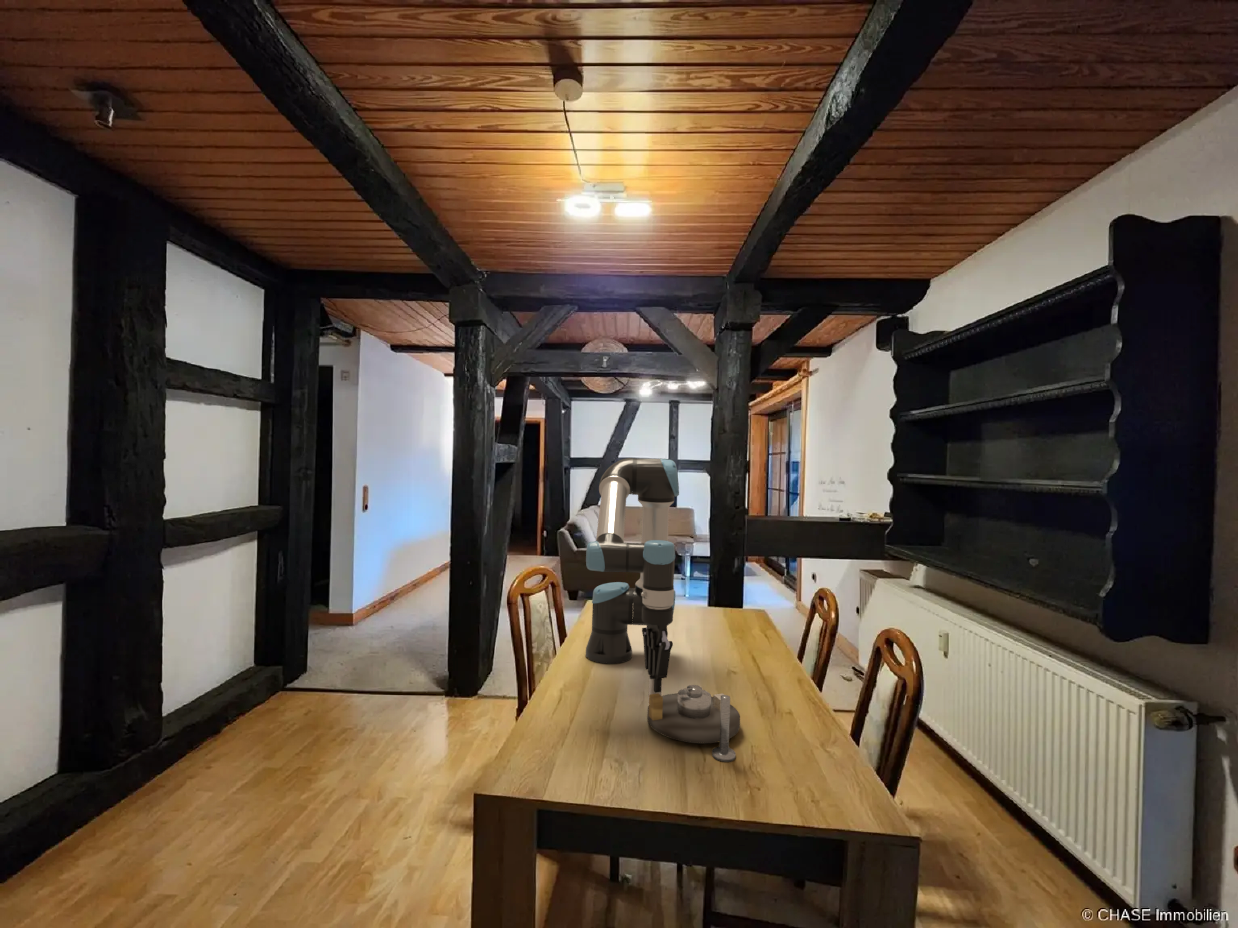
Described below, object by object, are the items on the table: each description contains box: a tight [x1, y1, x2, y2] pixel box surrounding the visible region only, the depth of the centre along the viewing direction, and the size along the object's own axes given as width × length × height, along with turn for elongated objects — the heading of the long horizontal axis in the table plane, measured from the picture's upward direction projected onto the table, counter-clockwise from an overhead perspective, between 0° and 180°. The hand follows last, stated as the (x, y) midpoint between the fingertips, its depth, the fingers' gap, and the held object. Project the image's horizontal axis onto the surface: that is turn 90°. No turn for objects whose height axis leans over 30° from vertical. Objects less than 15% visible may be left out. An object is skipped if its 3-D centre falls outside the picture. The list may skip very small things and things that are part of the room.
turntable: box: [646, 692, 741, 744], centre depth 133 cm, size 22×22×7 cm
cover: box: [677, 684, 712, 719], centre depth 134 cm, size 8×8×6 cm
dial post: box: [711, 693, 736, 763], centre depth 120 cm, size 6×5×13 cm
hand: (654, 703), depth 134 cm, fingers closed
